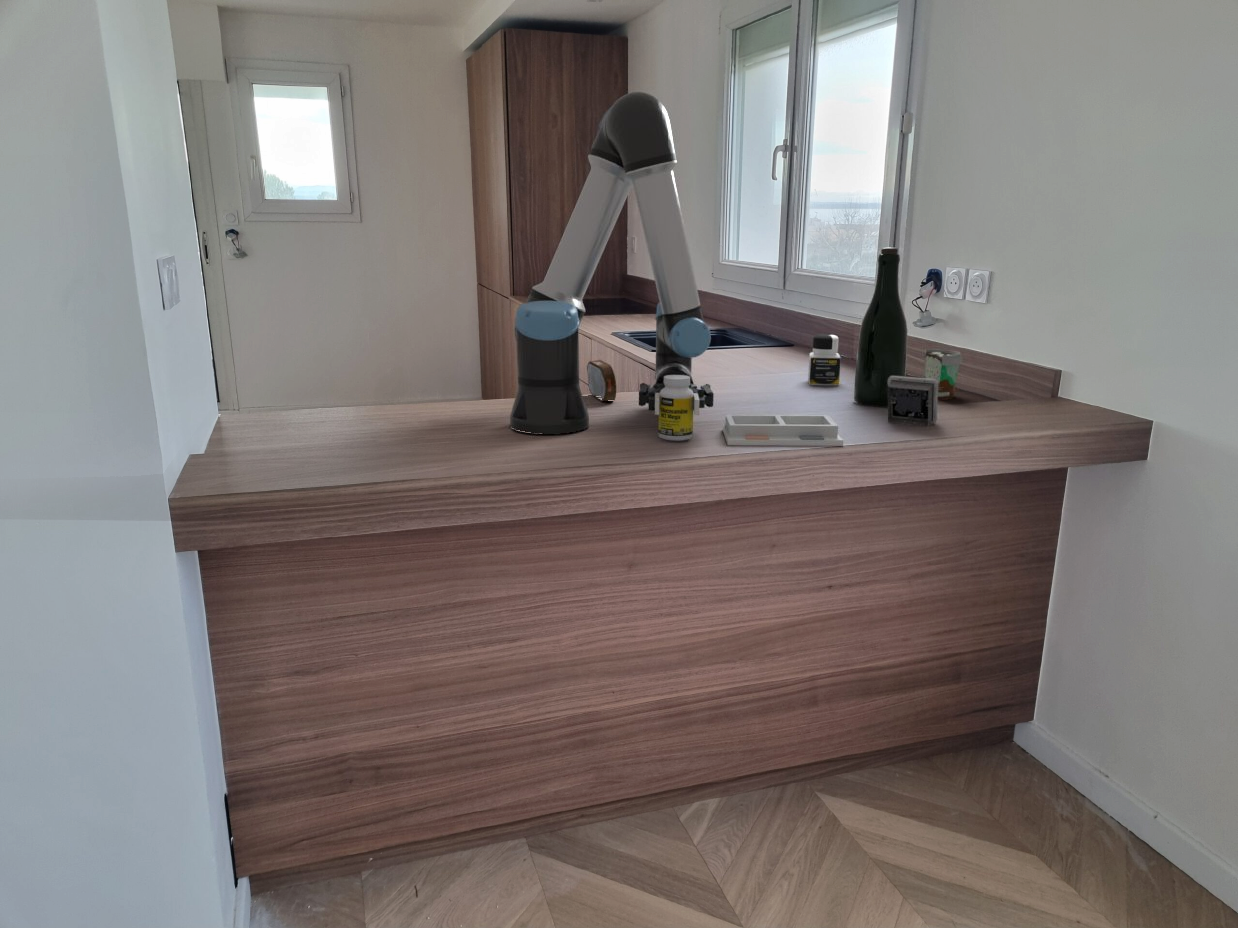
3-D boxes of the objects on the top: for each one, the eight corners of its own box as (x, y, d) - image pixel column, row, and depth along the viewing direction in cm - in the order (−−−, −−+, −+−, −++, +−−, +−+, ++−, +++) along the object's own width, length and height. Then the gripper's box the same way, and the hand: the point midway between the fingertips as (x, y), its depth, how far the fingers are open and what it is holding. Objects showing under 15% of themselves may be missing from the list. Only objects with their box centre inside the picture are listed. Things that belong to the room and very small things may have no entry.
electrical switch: (937, 423, 166) (940, 377, 163) (930, 431, 162) (933, 383, 159) (888, 418, 171) (891, 373, 168) (881, 425, 167) (883, 379, 164)
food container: (967, 401, 189) (972, 355, 186) (939, 401, 189) (943, 355, 186) (947, 391, 200) (951, 348, 198) (921, 391, 201) (924, 348, 198)
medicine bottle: (809, 385, 209) (811, 336, 206) (807, 380, 216) (810, 333, 213) (839, 386, 208) (842, 336, 205) (836, 381, 215) (839, 333, 212)
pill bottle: (655, 440, 151) (656, 378, 148) (661, 432, 157) (662, 373, 154) (690, 442, 150) (691, 380, 147) (695, 434, 156) (696, 374, 153)
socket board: (727, 445, 149) (728, 428, 149) (722, 430, 161) (723, 414, 160) (842, 445, 149) (844, 429, 148) (829, 430, 160) (830, 415, 159)
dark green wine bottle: (878, 409, 180) (890, 248, 171) (843, 401, 189) (853, 247, 180) (913, 404, 185) (927, 247, 176) (877, 397, 193) (888, 247, 185)
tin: (617, 404, 187) (617, 366, 184) (603, 405, 186) (603, 367, 183) (598, 393, 200) (597, 357, 198) (585, 393, 199) (584, 357, 197)
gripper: (721, 404, 170) (732, 429, 148) (625, 403, 171) (621, 427, 148) (723, 366, 168) (733, 386, 146) (626, 365, 169) (621, 385, 146)
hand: (677, 407), depth 147 cm, fingers closed on pill bottle, 6 cm apart
